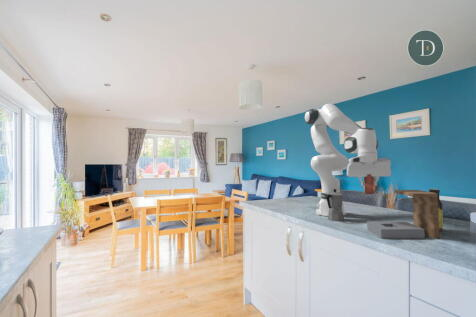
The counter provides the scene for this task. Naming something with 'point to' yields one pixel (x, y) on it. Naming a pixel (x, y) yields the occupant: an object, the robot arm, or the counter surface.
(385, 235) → the socket block
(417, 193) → the wooden overhang shelf
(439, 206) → the sauce bottle
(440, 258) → the counter surface
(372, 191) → the peg
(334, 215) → the coffeepot
